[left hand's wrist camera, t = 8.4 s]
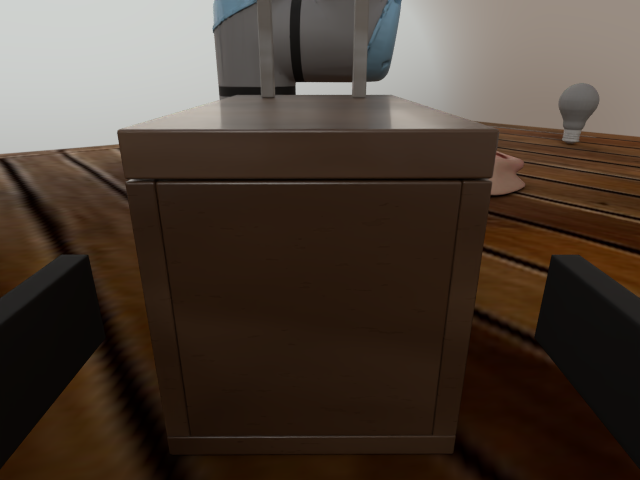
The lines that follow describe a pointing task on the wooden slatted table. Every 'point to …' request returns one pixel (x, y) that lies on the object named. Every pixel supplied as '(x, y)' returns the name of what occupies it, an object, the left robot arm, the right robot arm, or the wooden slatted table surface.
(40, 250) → the wooden slatted table surface
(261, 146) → the lid
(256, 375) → the chest
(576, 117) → the light bulb
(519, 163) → the anatomical model
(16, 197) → the wooden slatted table surface
